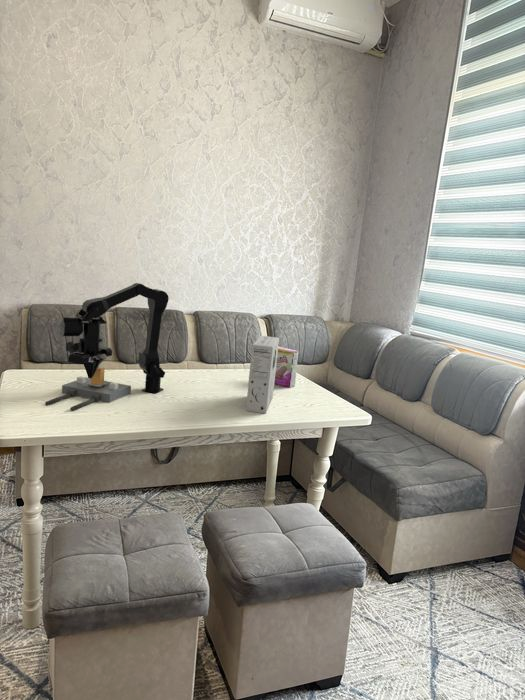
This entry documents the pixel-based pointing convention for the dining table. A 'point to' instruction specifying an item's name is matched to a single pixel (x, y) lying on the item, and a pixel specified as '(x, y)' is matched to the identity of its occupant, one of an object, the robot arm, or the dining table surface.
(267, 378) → the cereal box
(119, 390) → the panel
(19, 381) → the dining table surface
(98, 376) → the breaker handle
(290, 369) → the candy bar box
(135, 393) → the dining table surface
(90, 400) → the twin dark prongs
